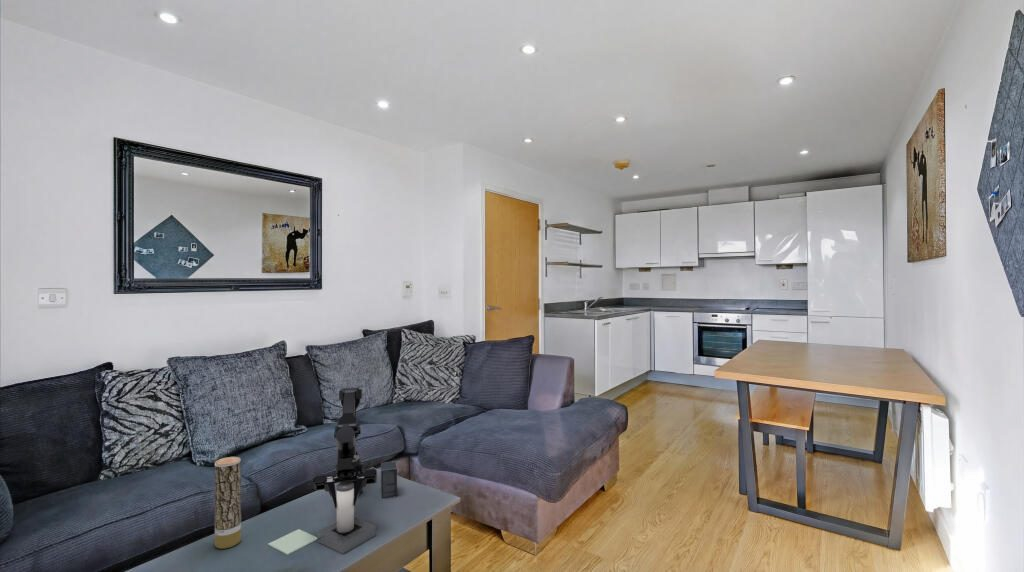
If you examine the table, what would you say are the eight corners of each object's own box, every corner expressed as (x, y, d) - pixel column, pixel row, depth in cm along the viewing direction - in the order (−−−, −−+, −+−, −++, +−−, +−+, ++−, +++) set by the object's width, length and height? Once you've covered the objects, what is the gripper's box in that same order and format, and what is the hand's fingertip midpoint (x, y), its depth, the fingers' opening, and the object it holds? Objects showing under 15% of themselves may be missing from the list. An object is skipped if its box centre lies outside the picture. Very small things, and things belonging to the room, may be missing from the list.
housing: (317, 541, 142) (317, 532, 142) (350, 524, 152) (350, 515, 152) (343, 554, 136) (343, 543, 136) (375, 535, 146) (375, 525, 146)
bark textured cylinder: (228, 551, 138) (228, 465, 138) (209, 548, 139) (208, 464, 139) (246, 538, 144) (246, 457, 144) (227, 536, 146) (227, 455, 146)
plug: (333, 529, 143) (333, 485, 143) (346, 522, 148) (346, 480, 147) (343, 534, 141) (343, 489, 141) (357, 527, 145) (357, 483, 145)
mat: (268, 545, 141) (268, 543, 141) (298, 530, 149) (298, 529, 149) (287, 555, 135) (287, 553, 135) (318, 539, 144) (318, 538, 144)
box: (380, 490, 178) (380, 462, 178) (396, 488, 180) (395, 460, 180) (381, 499, 171) (381, 469, 171) (397, 496, 173) (397, 468, 173)
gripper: (313, 449, 145) (309, 500, 134) (376, 442, 150) (377, 491, 140) (316, 465, 152) (312, 515, 142) (376, 458, 158) (376, 506, 148)
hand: (345, 506), depth 143 cm, fingers closed on plug, 5 cm apart
